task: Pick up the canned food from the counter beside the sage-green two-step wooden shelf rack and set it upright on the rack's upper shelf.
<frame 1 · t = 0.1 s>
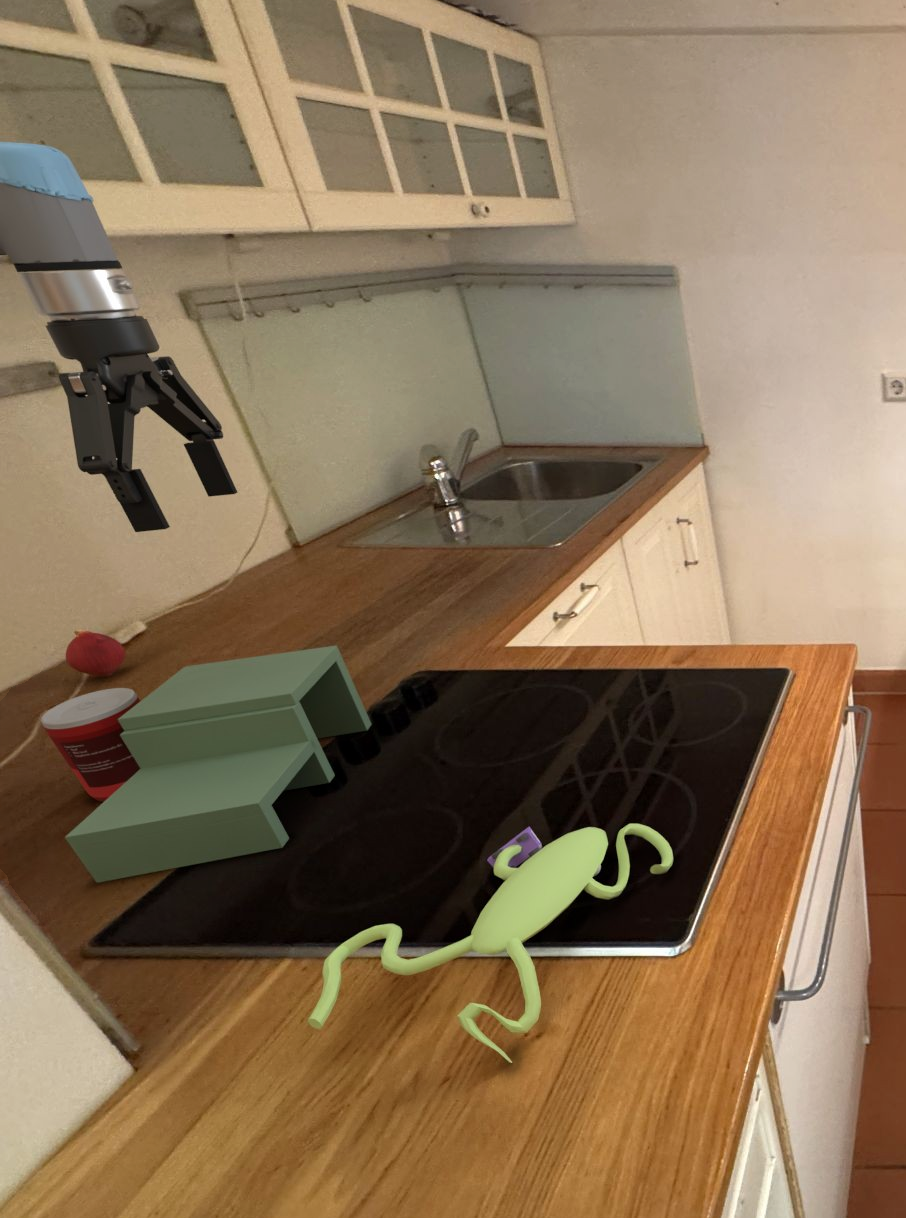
hand: (190, 511, 89), 30 cm above the worktop, tool pointing down, fingers open, 13 cm apart
onion: (109, 677, 116), on the worktop
canned food: (137, 783, 92), on the worktop
step rack: (253, 792, 89), on the worktop
figurine: (519, 941, 69), on the worktop
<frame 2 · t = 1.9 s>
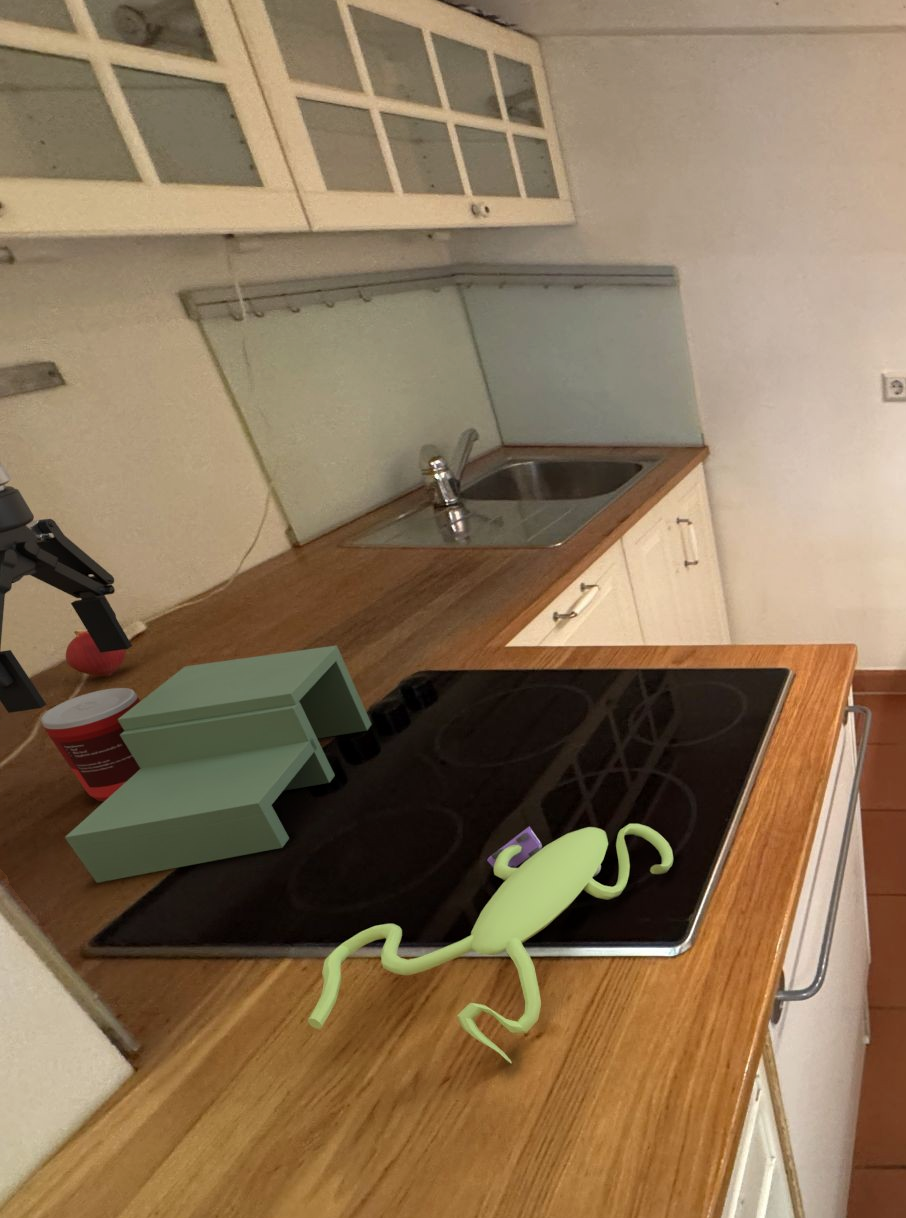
hand: (75, 677, 85), 15 cm above the worktop, tool pointing down, fingers open, 13 cm apart
nothing on the worktop moved.
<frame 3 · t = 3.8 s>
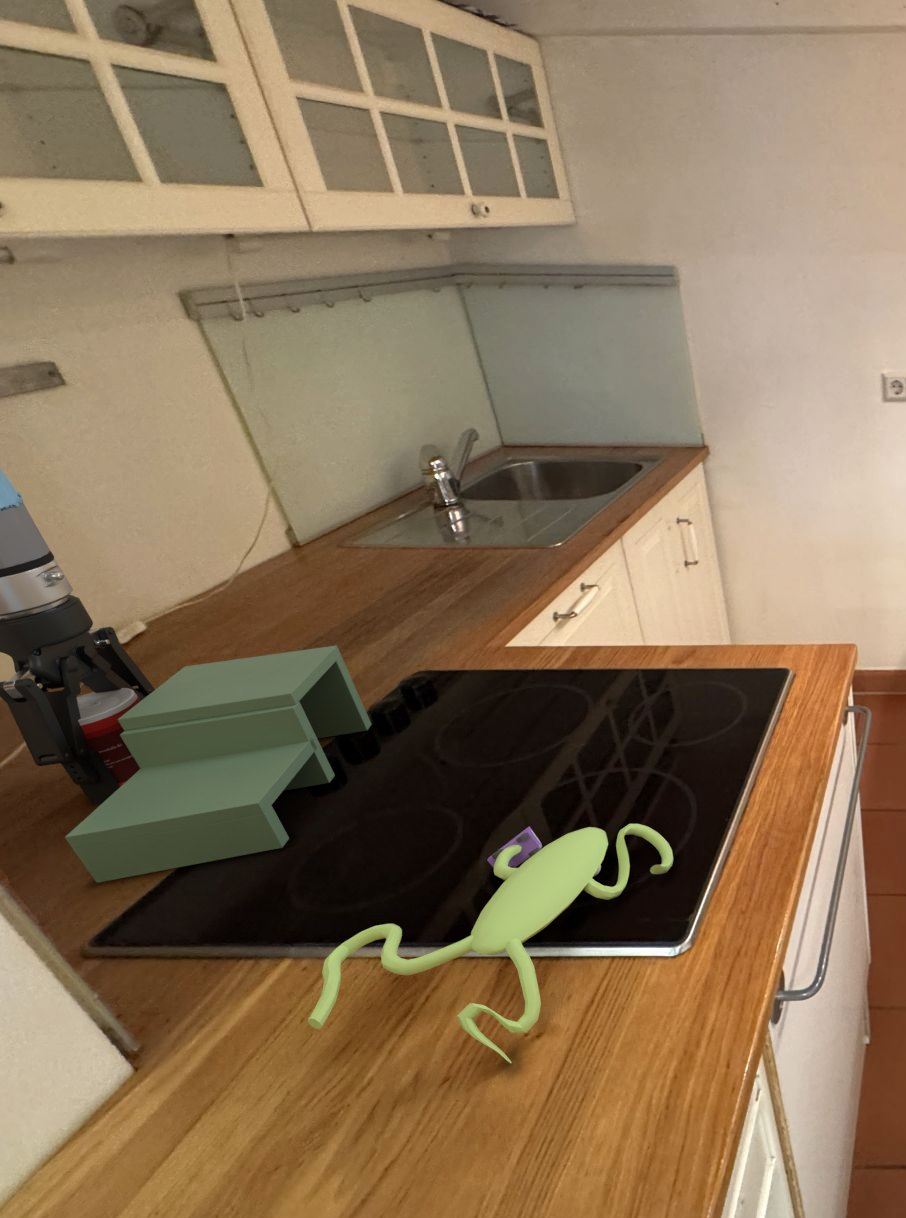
hand: (133, 777, 91), 1 cm above the worktop, tool pointing down, fingers closed on canned food, 8 cm apart
canned food: (137, 783, 92), on the worktop, touching gripper
everything else where it was.
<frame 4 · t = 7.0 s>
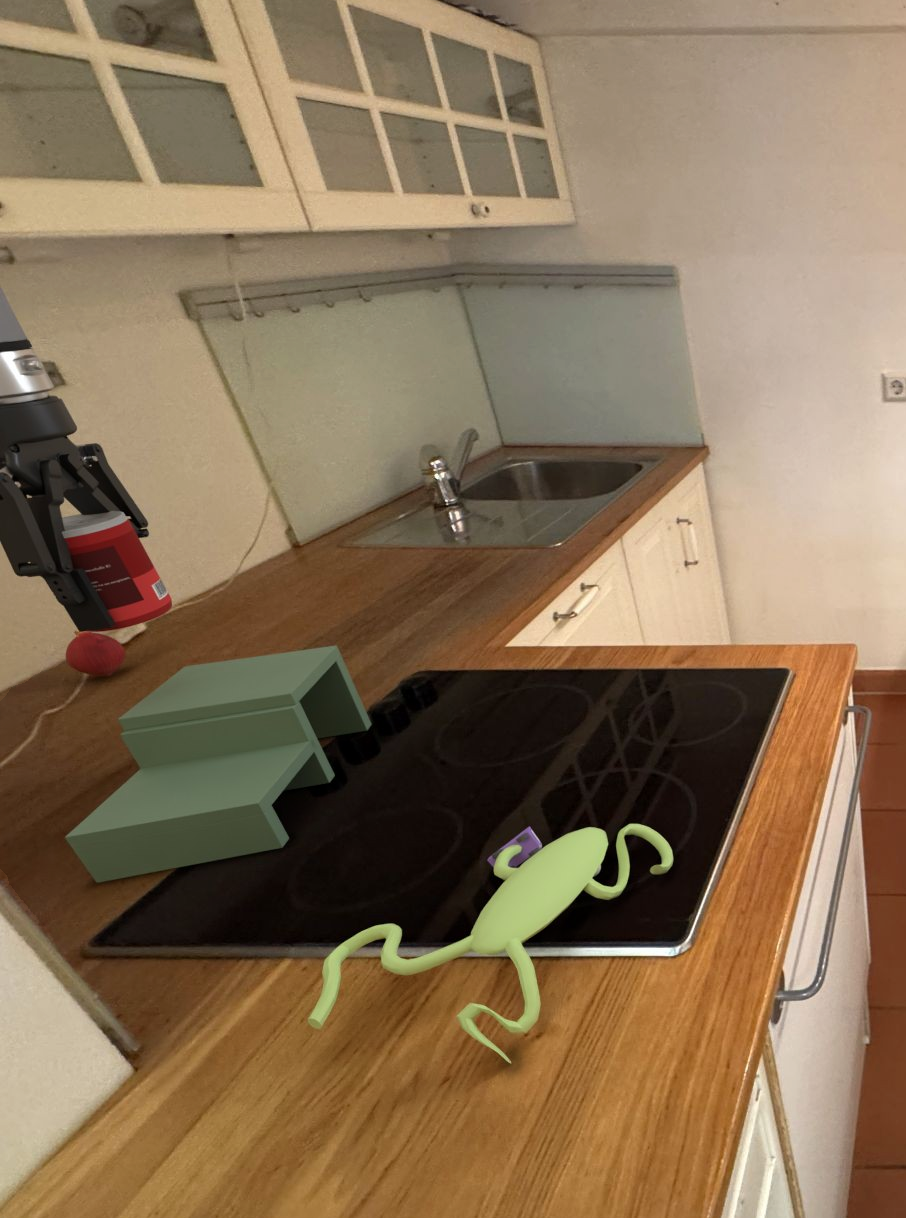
hand: (125, 611, 84), 22 cm above the worktop, tool pointing down, fingers closed on canned food, 8 cm apart
canned food: (129, 618, 84), point 21 cm above the worktop, touching gripper
everything else where it was.
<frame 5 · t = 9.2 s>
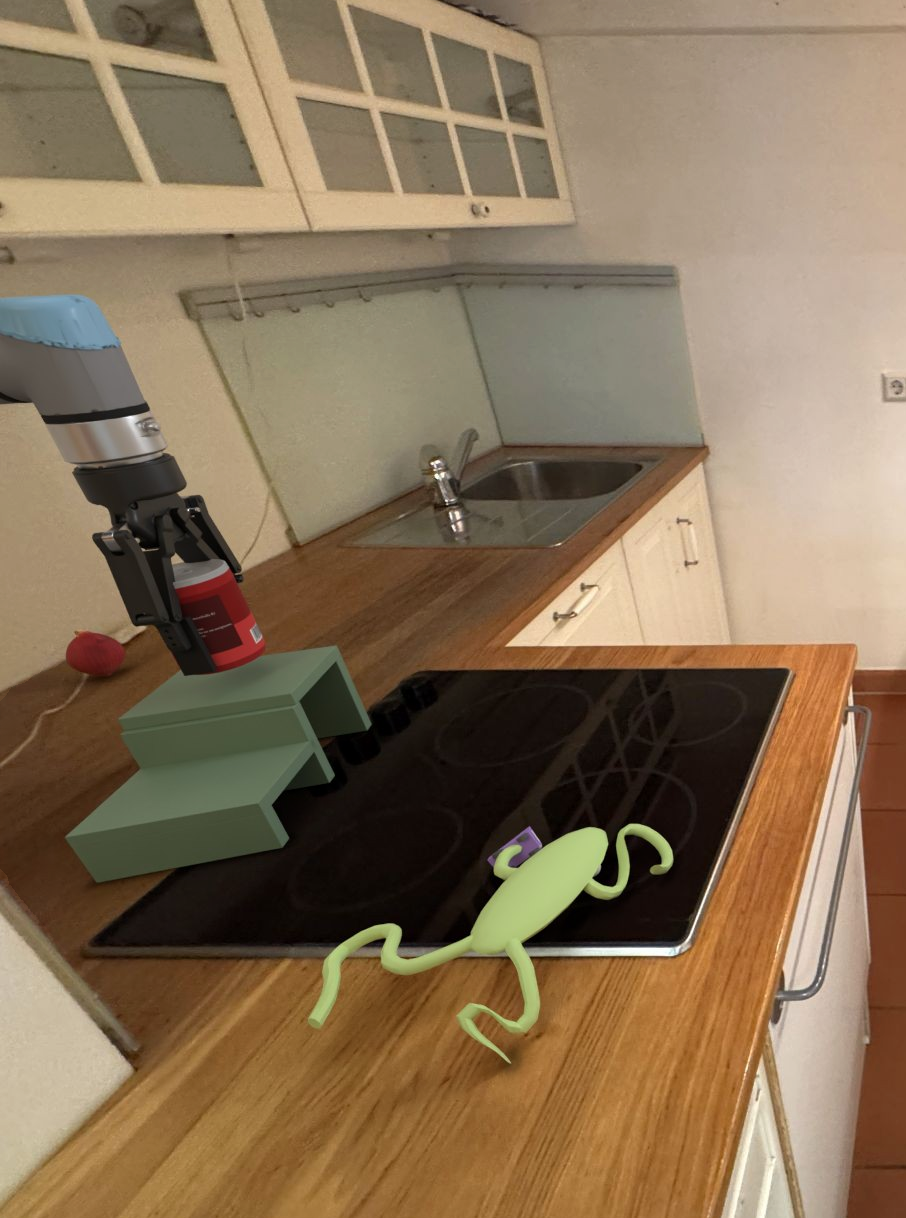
hand: (223, 654, 88), 15 cm above the worktop, tool pointing down, fingers closed on canned food, 8 cm apart
canned food: (226, 661, 88), point 14 cm above the worktop, touching gripper
everything else where it was.
when the fingers open (13 cm above the worktop, at t = 10.5 s): canned food stays where it is, resting on step rack.
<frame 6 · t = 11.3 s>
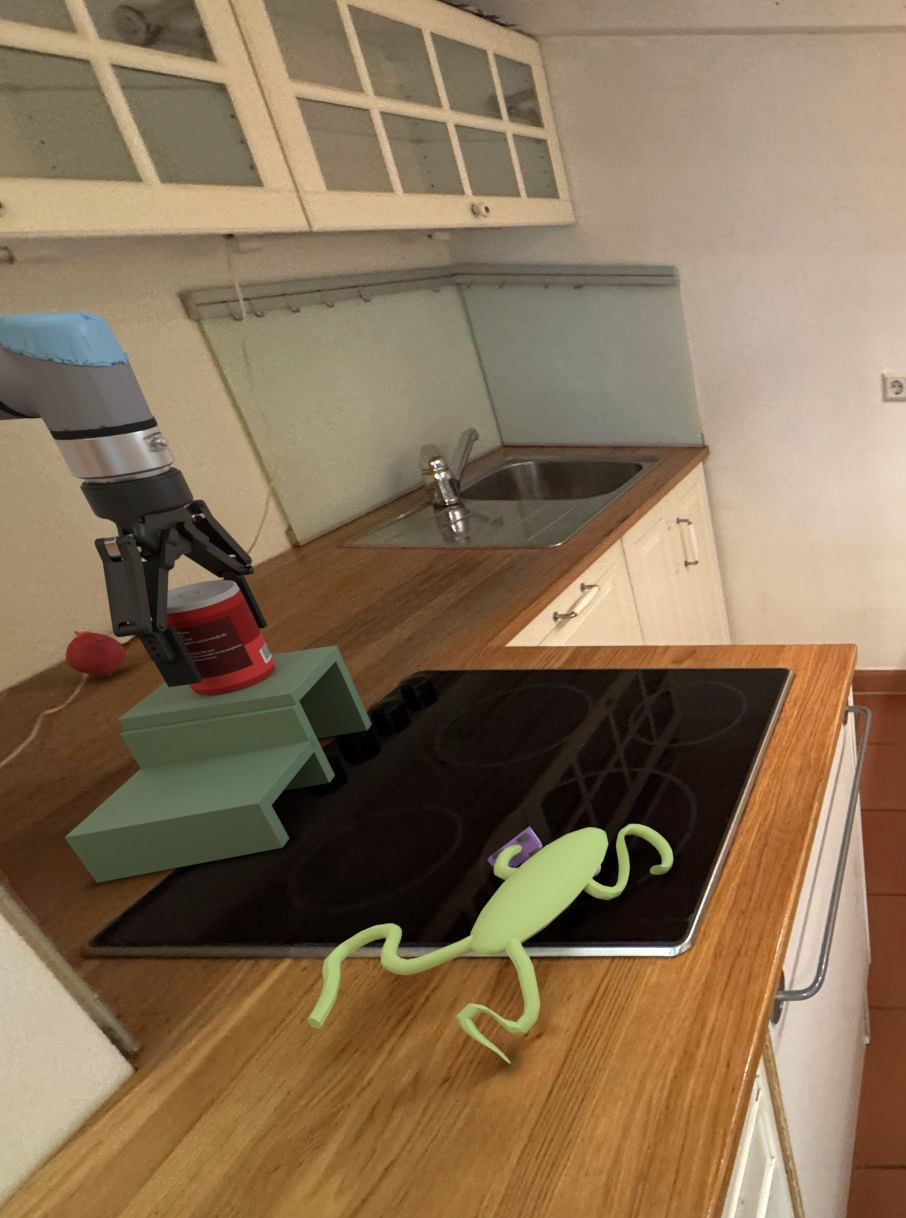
hand: (221, 654, 88), 15 cm above the worktop, tool pointing down, fingers open, 13 cm apart
canned food: (236, 680, 89), point 12 cm above the worktop, touching step rack
everything else where it was.
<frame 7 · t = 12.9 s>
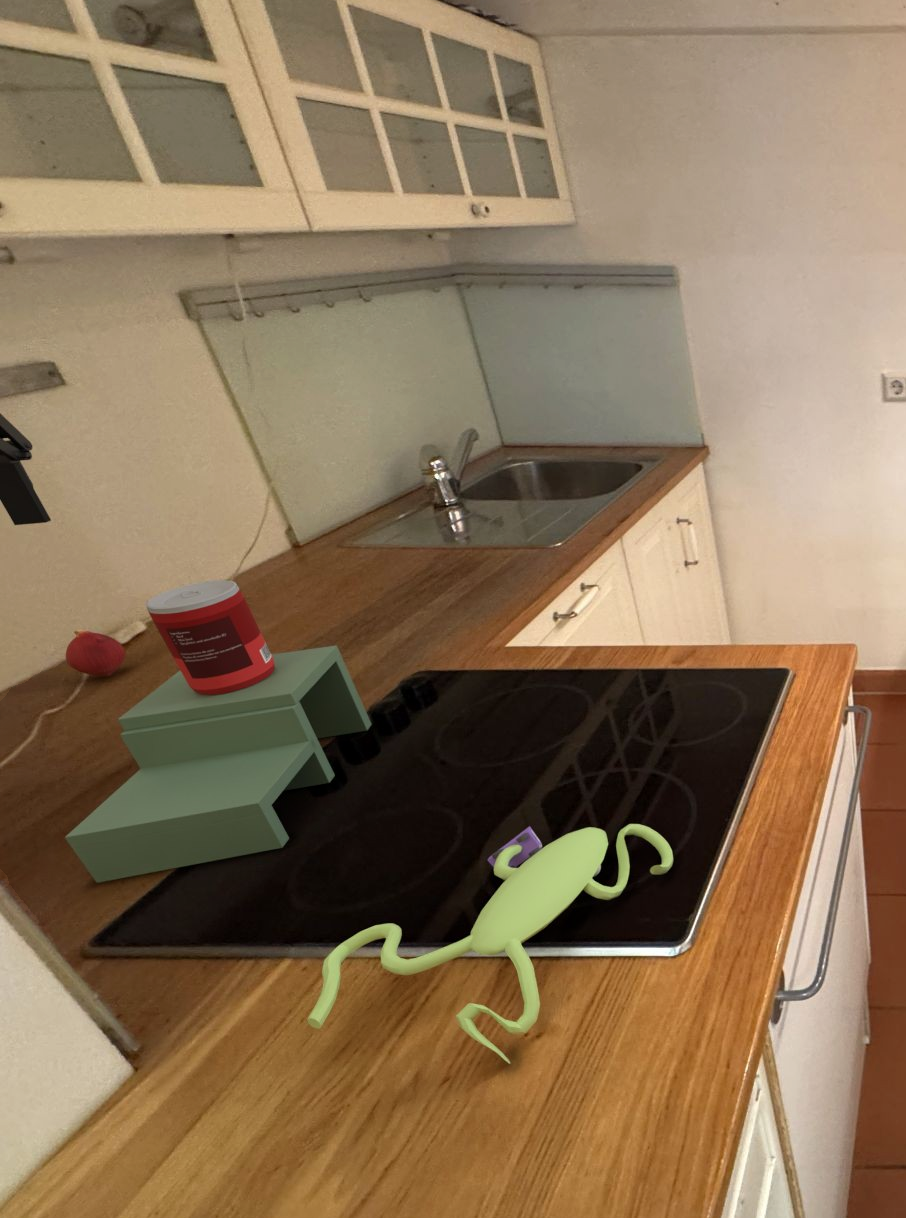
nothing on the worktop moved.
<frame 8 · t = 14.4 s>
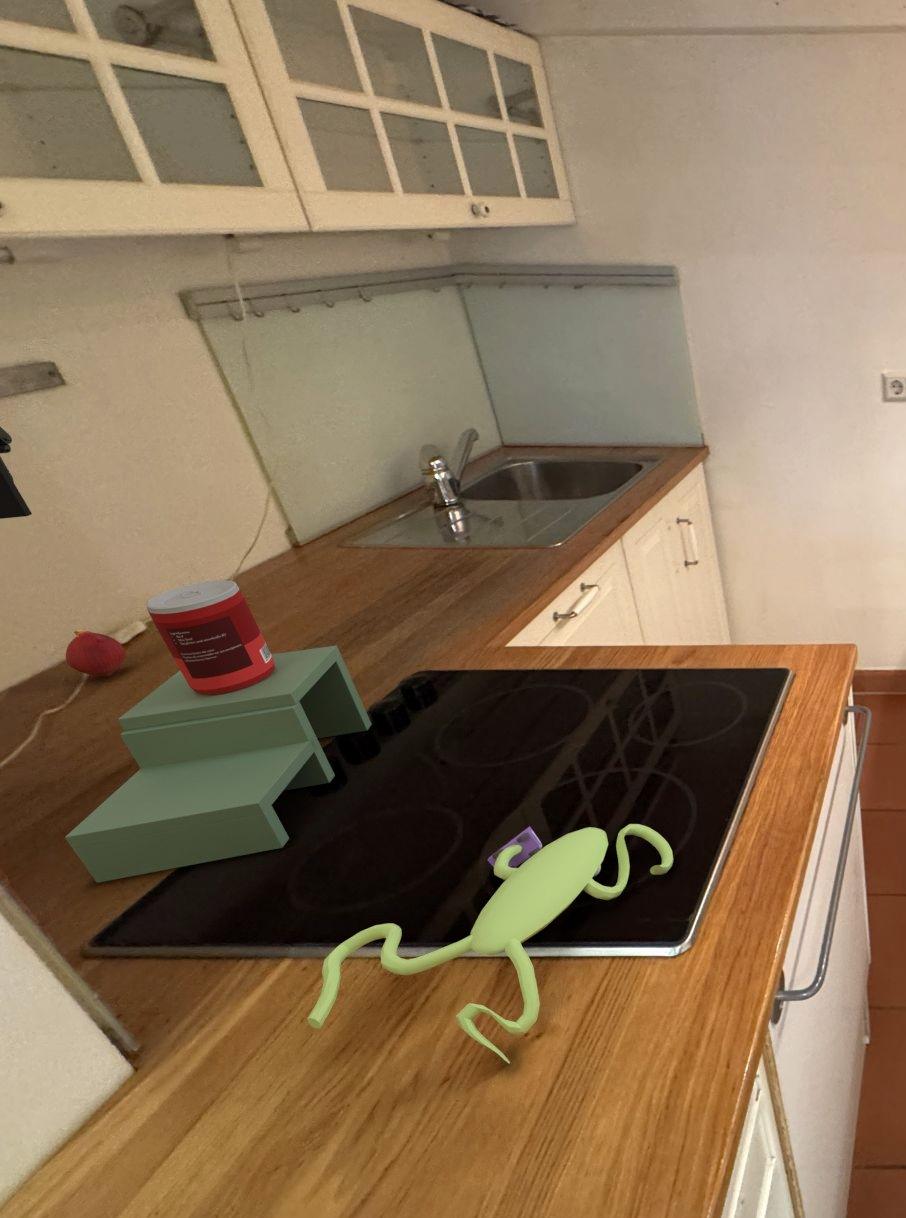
nothing on the worktop moved.
at the end: canned food inside the target area (0.2 cm from its centre), point 11.8 cm above the worktop; canned food tilted 0°; the gripper is holding nothing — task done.
